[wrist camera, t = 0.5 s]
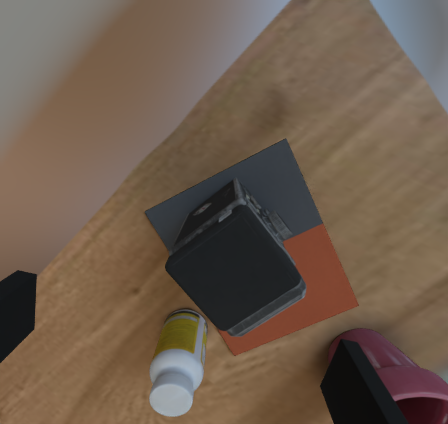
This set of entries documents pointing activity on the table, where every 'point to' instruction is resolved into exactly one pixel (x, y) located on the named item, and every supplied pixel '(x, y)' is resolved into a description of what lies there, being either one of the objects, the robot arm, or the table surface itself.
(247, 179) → the desk mat
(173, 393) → the pill bottle
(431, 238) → the table surface
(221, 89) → the table surface
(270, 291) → the camera
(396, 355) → the flower pot
